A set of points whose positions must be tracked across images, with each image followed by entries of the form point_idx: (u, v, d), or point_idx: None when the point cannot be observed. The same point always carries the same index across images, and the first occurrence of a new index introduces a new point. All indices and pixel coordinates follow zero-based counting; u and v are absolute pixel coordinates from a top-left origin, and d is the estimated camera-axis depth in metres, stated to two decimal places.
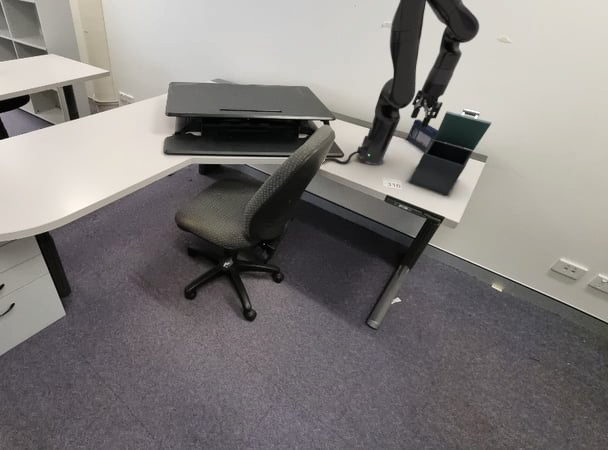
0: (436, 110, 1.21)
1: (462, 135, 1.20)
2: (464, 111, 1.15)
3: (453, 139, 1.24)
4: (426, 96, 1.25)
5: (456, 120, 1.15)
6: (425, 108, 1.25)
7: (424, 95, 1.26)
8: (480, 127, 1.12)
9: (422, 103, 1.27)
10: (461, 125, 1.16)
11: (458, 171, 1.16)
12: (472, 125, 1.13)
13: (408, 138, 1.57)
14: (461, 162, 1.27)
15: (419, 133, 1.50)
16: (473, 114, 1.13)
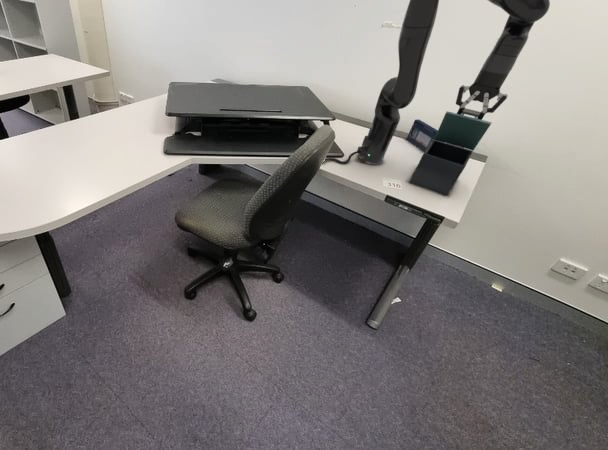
0: (500, 104, 1.08)
1: (462, 135, 1.20)
2: (464, 111, 1.15)
3: (453, 139, 1.24)
4: (482, 89, 1.08)
5: (456, 120, 1.15)
6: (488, 102, 1.08)
7: (477, 88, 1.09)
8: (480, 127, 1.12)
9: (476, 97, 1.10)
10: (461, 125, 1.16)
11: (458, 171, 1.16)
12: (472, 125, 1.13)
13: (408, 138, 1.57)
14: (461, 162, 1.27)
15: (419, 133, 1.50)
16: (473, 114, 1.13)
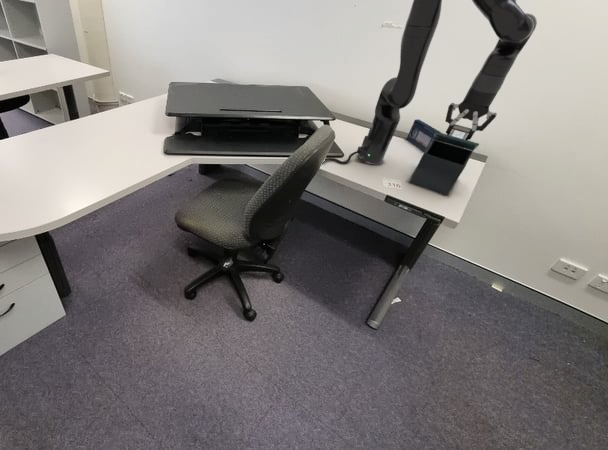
0: None
1: (457, 143, 1.20)
2: (454, 128, 1.14)
3: (451, 143, 1.24)
4: (471, 107, 1.08)
5: (446, 138, 1.16)
6: (478, 120, 1.08)
7: (466, 106, 1.09)
8: (470, 144, 1.13)
9: (465, 115, 1.10)
10: (452, 140, 1.17)
11: (458, 171, 1.16)
12: (462, 142, 1.14)
13: (408, 138, 1.57)
14: (461, 162, 1.27)
15: (419, 133, 1.50)
16: (463, 131, 1.13)
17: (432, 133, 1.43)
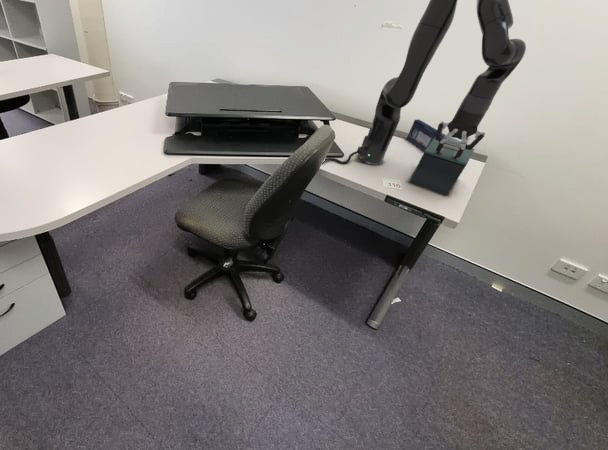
0: (478, 141, 1.10)
1: None
2: (443, 147, 1.16)
3: None
4: (460, 127, 1.10)
5: None
6: (466, 140, 1.10)
7: (455, 126, 1.11)
8: None
9: (454, 134, 1.12)
10: None
11: (458, 171, 1.16)
12: None
13: (408, 138, 1.57)
14: None
15: (419, 133, 1.50)
16: (453, 150, 1.15)
17: (432, 133, 1.43)
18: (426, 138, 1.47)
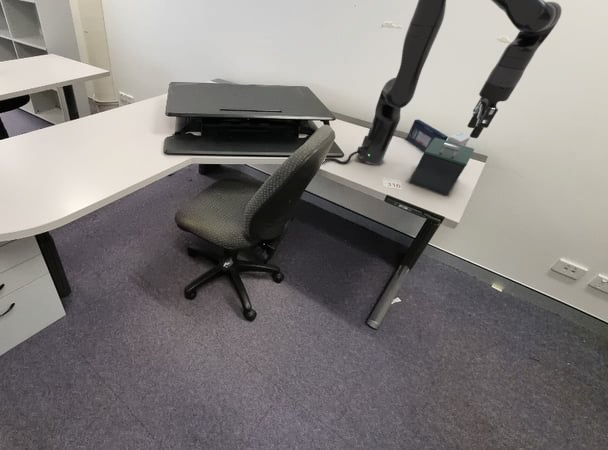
0: (488, 117, 0.99)
1: None
2: (443, 147, 1.16)
3: None
4: (485, 101, 1.03)
5: None
6: (478, 114, 1.03)
7: (484, 100, 1.04)
8: None
9: (480, 109, 1.05)
10: None
11: (458, 171, 1.16)
12: None
13: (408, 138, 1.57)
14: None
15: (419, 133, 1.50)
16: (453, 150, 1.15)
17: (432, 133, 1.43)
18: (426, 138, 1.47)
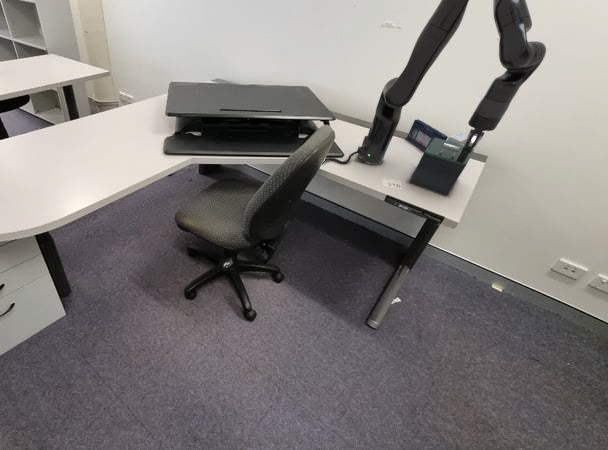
0: (468, 148, 1.08)
1: None
2: (443, 147, 1.16)
3: None
4: (474, 129, 1.08)
5: None
6: (465, 141, 1.09)
7: (475, 128, 1.09)
8: None
9: (470, 136, 1.11)
10: None
11: (458, 171, 1.16)
12: None
13: (408, 138, 1.57)
14: None
15: (419, 133, 1.50)
16: (452, 150, 1.15)
17: (432, 133, 1.43)
18: (426, 138, 1.47)
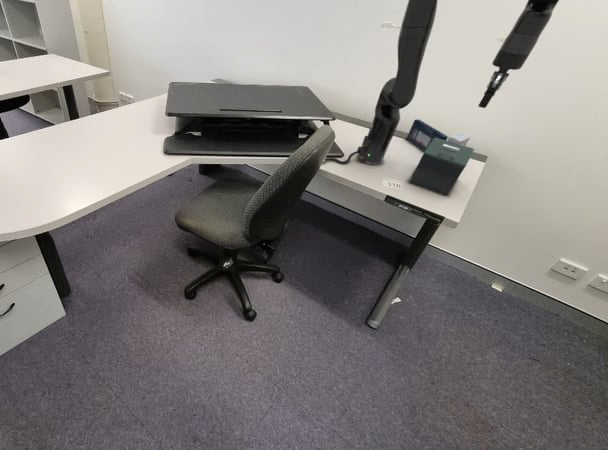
0: (491, 89, 1.03)
1: None
2: (442, 148, 1.17)
3: None
4: (498, 70, 1.03)
5: None
6: None
7: None
8: None
9: None
10: None
11: (458, 171, 1.16)
12: None
13: (408, 138, 1.57)
14: None
15: (419, 133, 1.50)
16: (452, 151, 1.15)
17: (432, 133, 1.43)
18: (426, 138, 1.47)
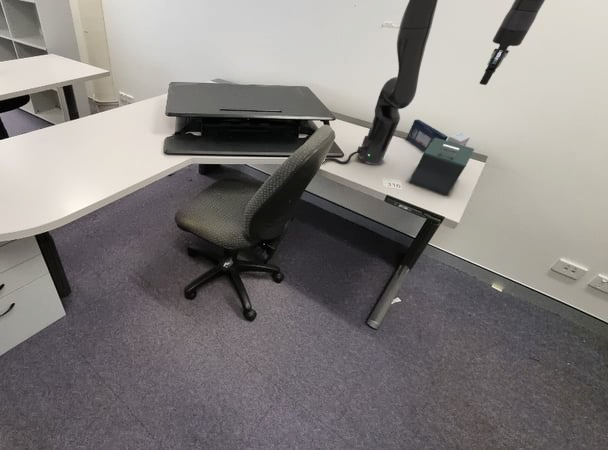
0: (492, 66, 1.06)
1: None
2: (442, 148, 1.17)
3: None
4: None
5: None
6: (489, 60, 1.07)
7: None
8: None
9: None
10: None
11: (458, 171, 1.16)
12: None
13: (408, 138, 1.57)
14: None
15: (418, 133, 1.50)
16: (452, 151, 1.15)
17: (432, 133, 1.43)
18: (426, 138, 1.47)
